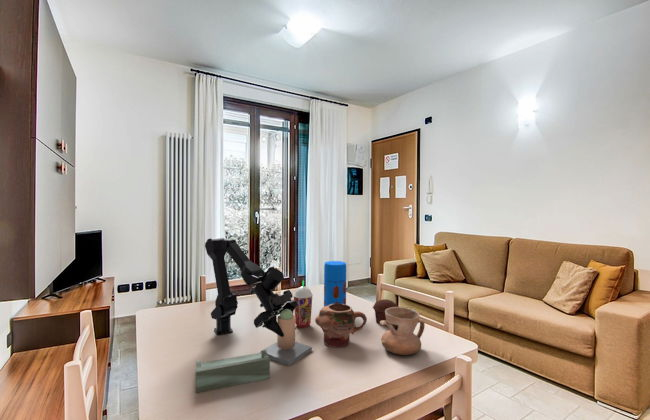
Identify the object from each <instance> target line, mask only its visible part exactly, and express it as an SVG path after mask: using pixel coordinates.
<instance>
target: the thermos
mask: <svg viewBox="0 0 650 420" xmlns="http://www.w3.org/2000/svg"><path fill="white" fill-rule="evenodd" d="M323 270H324V271H323V274H324V275H323V307H325V306H328V305H330V304H335V303H340V304H345V305H347V263H346V262H345V261H340V260H330V261H325V262H324V266H323Z"/></svg>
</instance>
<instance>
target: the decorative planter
mask: <svg viewBox="0 0 650 420" xmlns="http://www.w3.org/2000/svg"><path fill="white" fill-rule="evenodd" d="M357 318H361V319H362V321H363V322H362V323H361V324H360V325H359V326H356V325H355V323H356V319H357ZM367 319H368V318H367V316H366V314H365V313H364V312H362V311H354V310H353V308H352V307H351V306H350V305H348V304H346V305H345V304H340V303H335V304H330V305H328V306H325V307H324V306H322V308H320V310H319V312H318V315H316V316H315V320H314V321H315V324H316V325H317V326H319V327H320V328H321V331H322V332H323V342H324V344H326V346H328V347H331V348H344V347H347V346H348V345H349V342H350V338H351V335H354V334H356V333H358V332H359V331H361V330H362V329H363V328H364V327H365V325H366V323H367Z"/></svg>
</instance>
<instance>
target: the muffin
mask: <svg viewBox="0 0 650 420" xmlns="http://www.w3.org/2000/svg"><path fill="white" fill-rule="evenodd" d="M391 307H399V306H398V305H397V304H396V302H394V300H391V299H386V298H385V299H384V298H383V299H379V300H377V301H376V302H375V303H374V304H373V307H372V309H373V310H374V315H375V316H374V317H375V323H376V324H377V325H379V324H380V321H383V320H385V321H386V316H385V310H386V309H388V308H391ZM380 326H382V325H381V324H380ZM384 327H388V326H387V325H384Z"/></svg>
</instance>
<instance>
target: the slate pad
mask: <svg viewBox="0 0 650 420" xmlns="http://www.w3.org/2000/svg"><path fill="white" fill-rule="evenodd" d="M263 350H266V352H267V354H268V356H269V358H270V361H274V362H277V363H279V364H282V365H285V366H287V367H290V366H291V365H293V364H295V363H296V362H297V361H299V360H300V359H302V358H303V357H305V356H306V355H307V354H309V353H311V352H313V347H312V345H311V346H310V345H307V344H303V343H301V342H297V341H295V346H294V347H293V348H290V349H281V348H279V347H278V346H277V342H274V343H273V344H271V345H270V346H267V347H265V348H264V349H263ZM261 351H262V350H261ZM261 351H260V352H259V353H261Z"/></svg>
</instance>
